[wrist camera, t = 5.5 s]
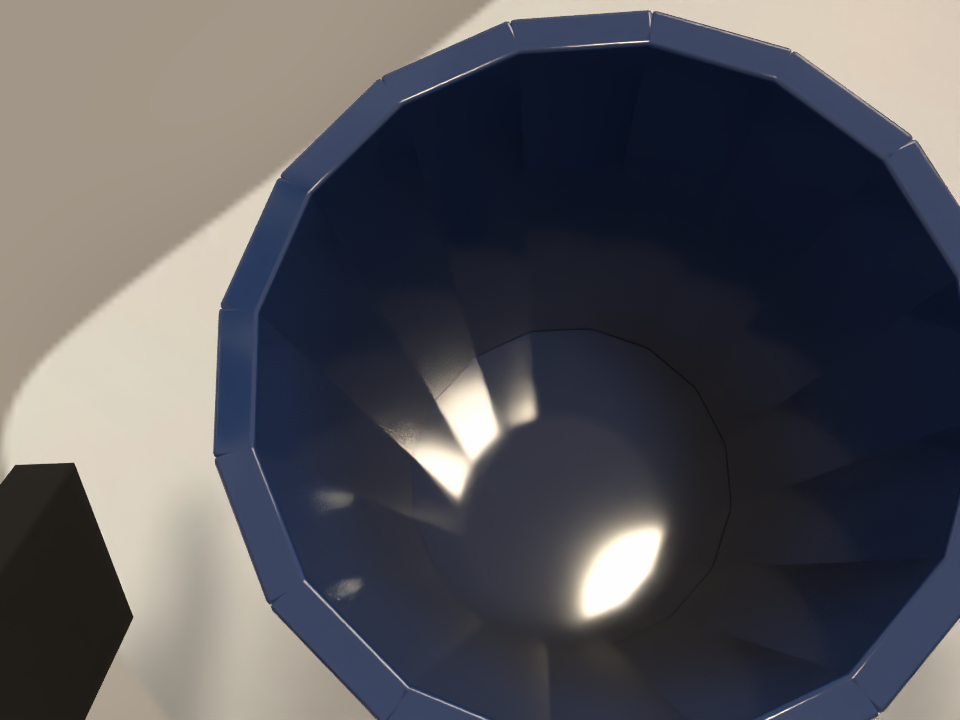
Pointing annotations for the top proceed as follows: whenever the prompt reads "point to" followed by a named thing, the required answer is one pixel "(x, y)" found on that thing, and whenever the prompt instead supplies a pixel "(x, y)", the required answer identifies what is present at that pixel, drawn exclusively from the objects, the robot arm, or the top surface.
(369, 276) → the cup
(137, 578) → the top surface
